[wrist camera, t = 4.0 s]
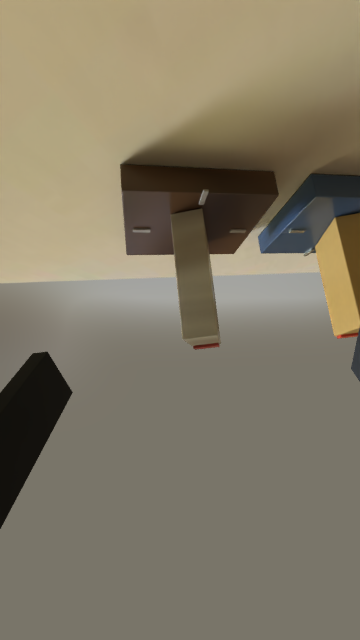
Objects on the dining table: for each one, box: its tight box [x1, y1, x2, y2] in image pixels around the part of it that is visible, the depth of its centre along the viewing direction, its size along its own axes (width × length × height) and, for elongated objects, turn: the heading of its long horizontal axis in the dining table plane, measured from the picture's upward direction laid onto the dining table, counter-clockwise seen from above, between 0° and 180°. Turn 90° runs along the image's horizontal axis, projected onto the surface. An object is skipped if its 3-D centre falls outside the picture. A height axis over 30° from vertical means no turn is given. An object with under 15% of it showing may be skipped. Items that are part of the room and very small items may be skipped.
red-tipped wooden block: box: [315, 213, 360, 338], centre depth 23 cm, size 6×2×10 cm, turn 11°
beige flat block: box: [171, 208, 221, 350], centre depth 21 cm, size 6×2×10 cm, turn 11°
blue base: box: [258, 174, 360, 256], centre depth 25 cm, size 11×10×2 cm
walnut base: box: [120, 164, 278, 255], centre depth 22 cm, size 11×10×2 cm
